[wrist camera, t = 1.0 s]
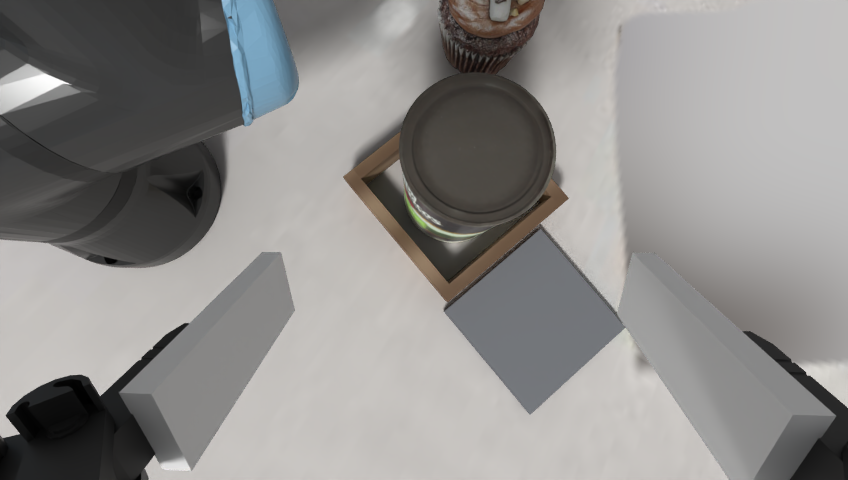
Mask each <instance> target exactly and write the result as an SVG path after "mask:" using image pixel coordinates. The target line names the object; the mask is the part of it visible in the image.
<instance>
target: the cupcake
mask: <svg viewBox="0 0 848 480" xmlns="http://www.w3.org/2000/svg"><path fill="white" fill-rule="evenodd" d="M544 2H545V0H440V1H439V7H440V8H438V15H439V16H438V19H439V24H440V30H441V36H442V44H443V49H444V51H445V54H446V58H447V59H448V61H449V62H450V64H451V65H452V66H453V67H454V68H456V69H458V70H459V71H460V72H462V73H469V72H470V73H471V72H480V73H488V74H493V75H495V74H496V73H497V72H498V71H499V70H500V69H502V68H503V67H504V66H505V65H506V64H507V63H508V62H509V60H510V59H511V58H512V57H513V56H514V55H515V54H516V53H517V52H519V51H520V50H521V48H522V47H524V46H525V45H526V44H527V41H528V40H530V38H531V37H532V36H533V34H534V31H535V29H536V28H537V25H538V21H539V13H540V12H541V10H542V9H543V5H544Z"/></svg>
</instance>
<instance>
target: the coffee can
mask: <svg viewBox="0 0 848 480" xmlns="http://www.w3.org/2000/svg"><path fill="white" fill-rule="evenodd" d="M399 157H400V163H401V167H402V171H403V180H404V202H405V207H406V210H407V213H408V215H409V217H410V218H411V220H412V222H413V223H414V224H415V225H416V227H417V228H419V229H420V230H421V231H422V232H423V233H424V234H426V235H428V236H429V237H431V238H433V239H435V240H439V241H442V242H448V243H457V242H464V241H467V240H470V239H473V238H475V237H477V236H479V235H480V234H482V233H483V232H485V231H487V230H489V229H491V228H493V227H495V226H497V225H500V224H503V223H506V222H508V221H511V220H513V219H515V218H517V217H518V216H520V215H522V214H523V213H525V212H526V211H527V210H529V209H530V208H531V207H532V206H533V205H534V204H535V203H536V202H537V201H538V200H539V199H540V197H541V196H542V194H543V193H544V191H545V190H546V188H547V186H548V184H549V182H550V180H551V177H552V174H553V171H554V167H555V161H556V143H555V136H554V131H553V128H552V125H551V122H550V120H549V118H548V116H547V114H546V112H545V111H544V109H543V107H542V106H541V105H540V103H539V102H538V101H537V100H536V99H535V98H534V97H533V96H532V95H531V94H530V93H529V92H528V91H527V90H526V89H524V88H523V87H521V86H520V85H518V84H516V83H515V82H513V81H511V80H509V79H506V78H504V77H501V76H497V75H493V74H488V73H480V72H471V73H470V72H469V73H462V74H456V75H453V76H450V77H447V78H445V79H443V80H441V81H439V82H437V83H435V84H434V85H432V86H431V87H429V88H428V89H426V90H425V91H424V92H423V93H422V94H421V95H420V96H419V97H418V98H417V99H416V100H415V102H414V103H413V104H412V106H411V107H410V109H409V111H408V113H407V115H406V117H405V119H404V122H403V125H402V128H401V132H400V138H399Z"/></svg>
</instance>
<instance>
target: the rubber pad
mask: <svg viewBox="0 0 848 480" xmlns="http://www.w3.org/2000/svg"><path fill="white" fill-rule="evenodd" d="M444 312H445V313H446V314H447V316H448V317H449V318H450V319H451V320H452V322H453V323H454V324H455V325H456V326H457V328H458V329H459V330H460V331H461V332H462V334H463V335H464V336H465V337H466V338H467V340H468V341H469V342H470V343H471V345H472V346H473V347H474V348H475V349H476V351H477V352H478V353H479V354H480V355H481V357H482V358H483V359H484V360H485V361H486V363H487V364H488V365H489V366H490V367H491V369H492V370H493V371H494V372H495V373H496V375H497V376H498V377H499V378H500V379H501V381H502V382H503V383H504V384H505V385H506V387H507V388H508V389H509V390H510V391H511V393H512V394H513V395H514V396H515V397H516V399H517V400H518V401H519V402H520V403H521V405H522V406H523V407H524V408H525V409H526V411H527V412H528V413H529V414H531V413H533V412H534V411H535V410H536V409H537V408H538V407H539V406H540V405H541V404H542V403H543V402H545V401H546V400H547V399H548V398H549V397H550V396H551V395H552V394H553V393H554V392H555V391H557V390H558V389H559V388H560V387H561V386H562V385H563V384H564V383H565V382H566V381H567V380H569V379H570V378H571V377H572V376H573V375H574V374H575V373H576V372H577V371H578V370H580V369H581V368H582V367H583V366H584V365H585V364H586V363H587V362H588V361H589V360H590V359H592V358H593V357H594V356H595V355H596V354H597V353H598V352H599V351H600V350H601V349H602V348H604V347H605V346H606V345H607V344H608V343H609V342H610V341H611V340H612V339H613V338H614V337H616V336H617V335H618V334H619V333H620V332H621V331H622V330H623V329H624V328H625V326H624V325H623V324H622V323H621V321H620V320H619V319H618V318H617V317H616V316H615V314H614V313H613V312H612V311H611V310H610V309H609V307H608V306H607V305H606V304H605V303H604V302H603V300H602V299H601V298H600V297H599V296H598V295H597V293H596V292H595V291H594V290H593V289H592V288H591V287H590V285H589V284H588V283H587V282H586V281H585V280H584V278H583V277H582V276H581V275H580V274H579V273H578V271H577V270H576V269H575V268H574V267H573V266H572V264H571V263H570V262H569V261H568V260H567V259H566V257H565V256H564V255H563V254H562V253H561V252H560V250H559V249H558V248H557V247H556V246H555V245H554V244H553V242H552V241H551V240H550V239H549V238H548V237H547V235H546V234H545V233H544V232H543V231H542V230H541V229H539V230H537V231H536V232H535V233H534V234H533V235H532V236H530V237H529V238H528V239H527V240H526V241H525V242H523V243H522V244H521V245H520V246H519V247H518V248H517V249H515V250H514V251H513V252H512V253H511V254H510V255H508V256H507V257H506V258H505V259H504V260H503V261H501V262H500V263H499V264H498V265H497V266H496V267H494V268H493V269H492V270H491V271H490V272H489V273H487V274H486V275H485V276H484V277H483V278H482V279H480V280H479V281H478V282H477V283H476V284H475V285H473V286H472V287H471V288H470V289H469V290H468V291H466V292H465V293H464V294H463V295H462V296H461V297H459V298H458V299H457V300H456V301H455V302H454V303H452V304H451V305H450V306H449V307H448V308H447V309H445V310H444Z"/></svg>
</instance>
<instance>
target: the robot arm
mask: <svg viewBox="0 0 848 480" xmlns="http://www.w3.org/2000/svg"><path fill="white" fill-rule="evenodd" d="M298 85H299V76H298V72H297V68H296V65H295V62H294V59H293V56H292V53H291V50H290V47H289V44H288V41H287V38H286V35H285V32H284V30H283V27H282V24H281V21H280V18H279V15H278V13H277V10H276V7H275V4H274V2H273V0H0V239H1V240H14V241H28V242H43V243H49V244H51V245H53V246H56V247H58V248H60V249H63V250H65V251H67V252H70V253H72V254H74V255H77V256H79V257H82V258H84V259H86V260H89V261H91V262H94V263H97V264H101V265H105V266H111V267H122V268H146V267H153V266H158V265H162V264H165V263H168V262H170V261H172V260H175V259H177V258H179V257H180V256H182V255H184V254H185V253H187V252H188V251H189V250H191V249H192V248H193V247H194V246H195V245H196V244H197V243H198V242H199V241H200V240H201V239H202V238H203V237H204V235H205V234H206V233H207V231H208V230H209V228H210V226H211V225H212V223H213V221H214V219H215V216H216V213H217V210H218V207H219V202H220V193H221V186H220V177H219V173H218V169H217V166H216V163H215V161H214V159H213V157H212V155H211V154H210V152H209V151H208V149H207V148H206V147H205V145H204V144H203V143H202V142H201V141H203V140H205V139H208V138H210V137H213V136H215V135H218V134H220V133H223V132H225V131H228V130H230V129H233V128H235V127H238V126H240V125H244V126H249V125H250V124H251V123H252V122H253V120H254V119H256V118H258V117H260V116H262V115H265V114H267V113H269V112H271V111H273V110H275V109H278V108H280V107H282V106H284V105H286V104H288V103H289V102H290V101H291V100H292V99H293V98H294V96H295V94H296V92H297V90H298ZM294 311H295V309H294V305H293V301H292V296H291V292H290V288H289V284H288V280H287V275H286V271H285V267H284V263H283V259H282V254H281V252H262V253H261V254H260V255H259V256H258V257H257V258H256V259H255V260H254V261H253V262H252V263H251V264H250V265H249V266H248V267H247V268H246V269H245V270H244V271H243V272H242V273H241V274H240V275H239V276H238V277H237V278H236V279H235V280H233V281H232V282H231V283H230V284H229V285H228V286H227V287H226V288H225V289H224V290H223V291H222V292H221V293H220V294H219V295H218V296H217V297H216V298H215V299H214V300H213V301H212V302H211V303H210V304H209V305H208V306H207V307H206V308H205V309H204V310H203V311H202V312H201V313H200V314H199V315H198V316H197V317H196V318H195V319H194V320H193V321H192V322H191V323H184V324H183V325H181V326H179V327H178V328H176V329H174V330H173V331H171V332H169V333H168V334H166V335H165V336H164V337H163V338H162V339H161V340H160V341H159V342H158V343H157V344H156V345H155V346H154V347H153V349H152V350H149V351H148V352H147V353H146V354H145V355H144V356H143V357H142V360H139V361H138V362H136V363H135V364H134V365H133V366H132V367H131V368H130V369H129V370H128V371H127V372H126V373H125V374H124V375H123V376H122V377H120V378H119V379H118V380H117V381H116V382H115V383H114V384H113V385H112V386H111V387H110V388H109V389H108V390H107V391H106V392H104V393H103V394H102V395H101V396H99V394H98V392H97V391H96V389H95V387H94V386H93V384H92V383H91V381H90V379H89V378H88V377H86V376H83V375H70V376H66V377H63V378H59V379H55V380H53V381H51V382H49V383H46V384H44V385H42V386H40V387H38V388H36V389H35V390H33V391H31V392H30V393H28V394H27V395H25V396H24V397H22V398H21V399H20V400H19V401H18V402H17V403H15V404H14V405H13V406H12V407H11V409H10V410H9V412H8V413H7V415H6V417H7V418H8V419H9V420H10V422H11V423H12V424H13V425H14V427H15V428H16V429H17V430H18V432H19V433H20V434H19V435H15V436H11V437H6V438H2V437H1V436H0V480H148V475H147V473H146V471H145V469H144V468H145V467H146V465H147V464H148V463H149V462H150V460H151V459H152V458H153V456H154V455H155V456H156V458H157V460H158V462H159V463H160V465H161V467H162V469H163V470H181V471H192V470H193V468H194V466H195V465H196V463H197V462H198V460H199V459H200V457H201V456H202V454H203V452H204V451H205V449H206V448H207V446H208V445H209V443H210V441H211V440H212V438H213V437H214V435H215V434H216V432H217V431H218V429H219V427H220V426H221V424H222V423H223V421H224V420H225V418H226V417H227V415H228V413H229V412H230V410H231V409H232V407H233V406H234V404H235V403H236V401H237V399H238V398H239V396H240V395H241V393H242V392H243V390H244V389H245V387H246V385H247V384H248V382H249V381H250V379H251V378H252V376H253V374H254V373H255V371H256V370H257V368H258V367H259V365H260V364H261V362H262V360H263V359H264V357H265V356H266V354H267V353H268V351H269V350H270V348H271V346H272V345H273V343H274V342H275V340H276V339H277V337H278V336H279V334H280V332H281V331H282V329H283V328H284V326H285V325H286V323H287V322H288V320H289V318H290V317H291V315H292V314H293V312H294ZM617 315H618V317H619V318H620V320H621V321H622V323H623V324H624V326H625V327H626V329H627V330H628V331H629V333H630V334H631V336H632V337H633V339H634V340H635V342H636V343H637V345H638V346H639V348H640V349H641V351H642V352H643V354H644V355H645V356H646V358H647V359H648V361H649V362H650V364H651V365H652V367H653V368H654V370H655V371H656V373H657V374H658V376H659V377H660V379H661V380H662V381H663V383H664V384H665V386H666V387H667V389H668V390H669V392H670V393H671V395H672V396H673V398H674V399H675V401H676V402H677V404H678V405H679V406H680V408H681V409H682V411H683V412H684V414H685V415H686V417H687V418H688V420H689V421H690V423H691V424H692V426H693V427H694V428H695V430H696V431H697V433H698V434H699V436H700V437H701V439H702V440H703V442H704V443H705V445H706V446H707V448H708V449H709V451H710V452H711V453H712V455H713V456H714V458H715V459H716V461H717V462H718V464H719V465H720V467H721V468H722V470H723V471H724V473H725V474H726V476H727V477H728V478H729V480H848V408H847V407H846V406H845V405H844V404H843V403H841V402H840V401H839V400H838V399H837V398H836V397H834V396H833V395H832V394H831V393H830V392H828V391H827V390H826V389H825V388H824V387H823V386H821V385H820V384H819V383H818V382H817V381H816V380H814V379H813V378H812V377H811V376H807V375H806V372H805V371H804V370H803V369H802V368H800V367H799V366H798V365H797V364H796V363H792V362H791V359H790V358H789V357H787V356H786V355H785V354H784V353H783V352H782V351H780V350H779V349H778V348H777V347H776V346H774V345H773V344H772V343H770V342H768V341H766V340H765V339H763V338H761V337H759V336H757V335H756V334H754V333H752V332H750V331H749V332H748V331H741V330H740V329H739V328H738V327H737V326H736V325H734V324H733V323H732V322H731V321H730V320H729V319H728V318H727V317H725V316H724V315H723V314H722V313H721V312H720V311H719V310H718V309H717V308H716V307H714V306H713V305H712V304H711V303H710V302H709V301H708V300H707V299H706V298H704V297H703V296H702V295H701V294H700V293H699V292H698V291H697V290H696V289H694V288H693V287H692V286H691V285H690V284H689V283H688V282H687V281H686V280H684V279H683V278H682V277H681V276H680V275H679V274H678V273H677V272H675V271H674V270H673V269H672V268H671V267H670V266H669V265H668V264H667V263H665V262H664V261H663V260H662V259H661V258H660V257H659V256H658V255H657V254H655V253H632V257H631V261H630V265H629V269H628V273H627V277H626V281H625V285H624V289H623V292H622V296H621V300H620V304H619V308H618V312H617Z"/></svg>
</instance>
